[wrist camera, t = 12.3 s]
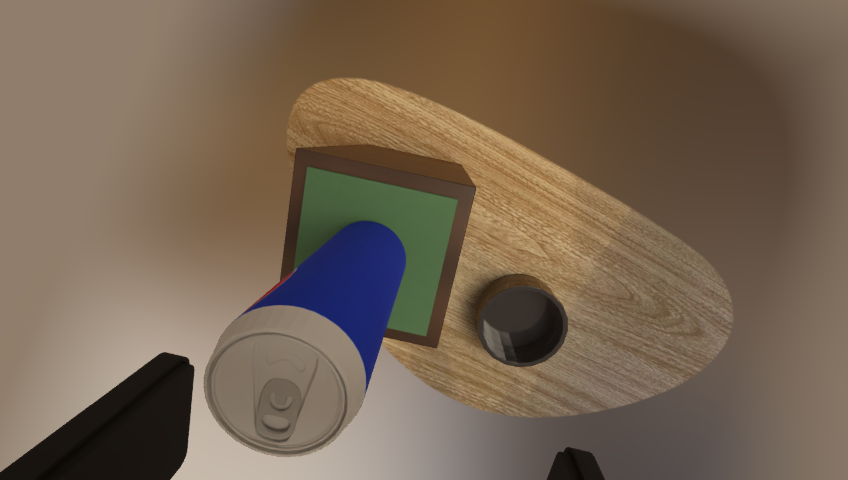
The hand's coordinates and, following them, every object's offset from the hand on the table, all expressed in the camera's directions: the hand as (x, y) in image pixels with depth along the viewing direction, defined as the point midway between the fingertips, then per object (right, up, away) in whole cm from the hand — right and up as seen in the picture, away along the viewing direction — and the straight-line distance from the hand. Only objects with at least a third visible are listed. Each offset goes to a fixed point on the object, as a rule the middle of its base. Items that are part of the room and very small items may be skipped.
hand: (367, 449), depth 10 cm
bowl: (+14, -5, +44) cm, 47 cm away
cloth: (-2, +4, +17) cm, 18 cm away
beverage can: (-2, +4, +17) cm, 18 cm away
